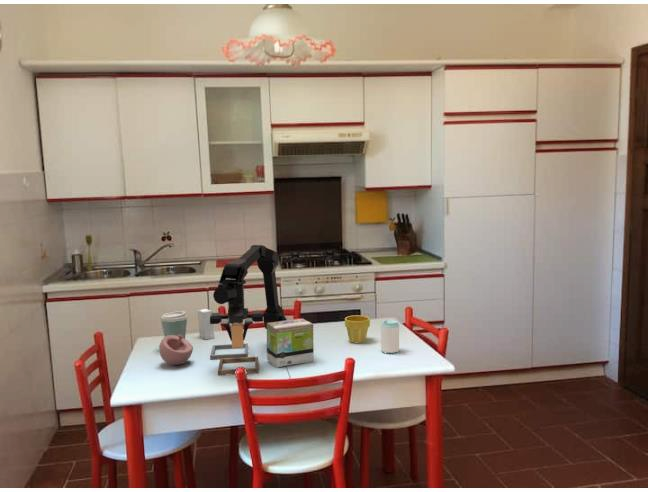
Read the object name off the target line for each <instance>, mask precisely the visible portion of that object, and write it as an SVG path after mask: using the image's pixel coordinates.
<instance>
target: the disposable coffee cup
mask: <svg viewBox="0 0 648 492" xmlns="http://www.w3.org/2000/svg"><path fill="white" fill-rule="evenodd" d="M187 321H188V314H187V312H186V311H184V310H177V311H172V312H167V313H164V314H162V315H161V317H160V323H161V327H162V332H163V338H164V337H166V336H168V335H176V336H178V335H179V334H180V335H182V336H183V338H184V339H186V334H187V333H186V332H187V325H188V323H187Z"/></svg>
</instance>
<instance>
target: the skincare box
mask: <svg viewBox="0 0 648 492" xmlns="http://www.w3.org/2000/svg"><path fill="white" fill-rule="evenodd" d="M212 313H213V310H210V309H209V308H208V309H207V308H203V309H197V320H198V332H199V338H201V339H203V340H206V339H208V340H212V339H214V338H215V331H214V328H215V327H214V324H210V315H211V314H212Z"/></svg>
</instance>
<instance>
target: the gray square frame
mask: <svg viewBox="0 0 648 492" xmlns="http://www.w3.org/2000/svg"><path fill="white" fill-rule="evenodd" d="M229 349H230V350H231V349H234V348H232V343H231V344H214V345H212V347H211V351H210V354H209V357H210V361H211V360H212V361H213V360H220V359H223V358H241V357H249V353H248V352H249V343H244V347H241V348H240V349H244V353H243V352H242V353H225V354H223V353H222V354H215V353H216V350H229Z"/></svg>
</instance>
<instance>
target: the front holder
mask: <svg viewBox="0 0 648 492" xmlns="http://www.w3.org/2000/svg"><path fill="white" fill-rule="evenodd" d="M248 362H249V363H251V362H255V363H254V364H255V365H254V367H251V368H245V369H246V372H247V374H246V375H248V374H250V375H251V374H259V356H248V357H241V358H223V359H219V363H218V368H217V376H227V375H226V374H232V375H236V374H235V371H236V369H237V368H235V369H234V368H233V369H231V368H230V369H223V364H231V363H232V364H233V363H248Z"/></svg>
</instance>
